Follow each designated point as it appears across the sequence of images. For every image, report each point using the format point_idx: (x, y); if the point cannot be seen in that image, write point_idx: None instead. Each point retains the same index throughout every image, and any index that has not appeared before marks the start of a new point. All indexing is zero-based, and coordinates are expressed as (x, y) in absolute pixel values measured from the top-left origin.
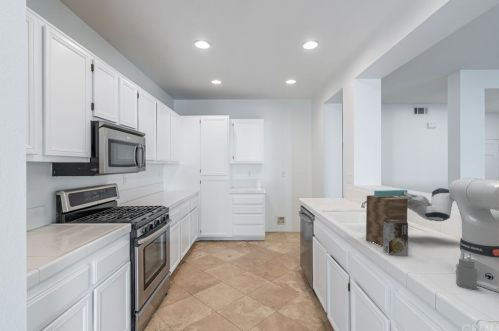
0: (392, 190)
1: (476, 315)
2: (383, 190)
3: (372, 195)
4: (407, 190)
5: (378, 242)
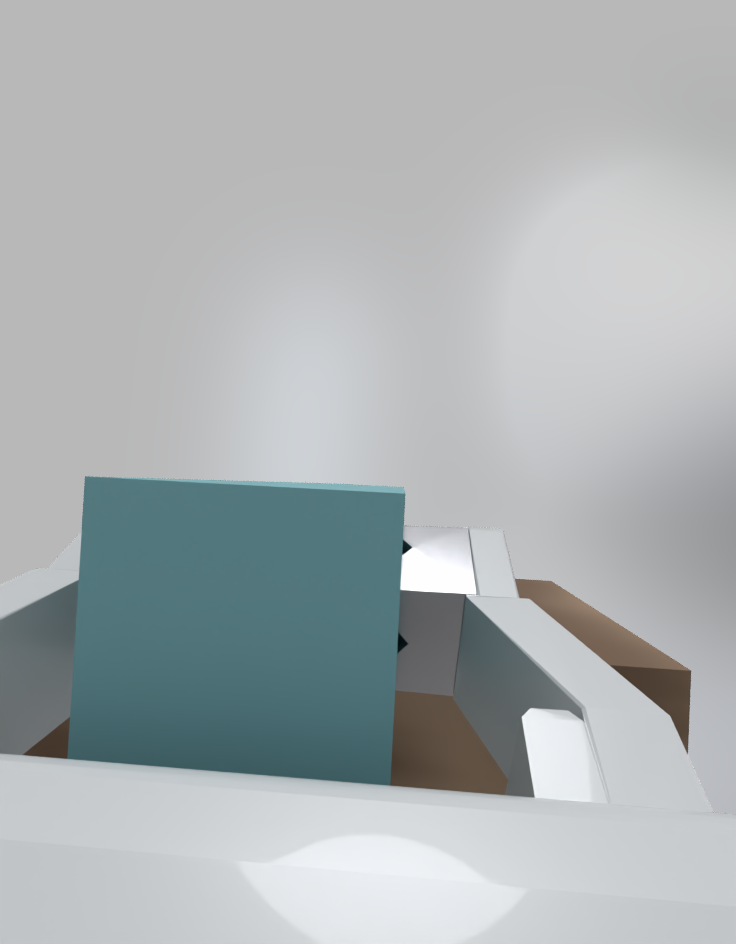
0: (329, 484)
1: None
2: (379, 486)
3: (564, 597)
4: (87, 488)
5: None
